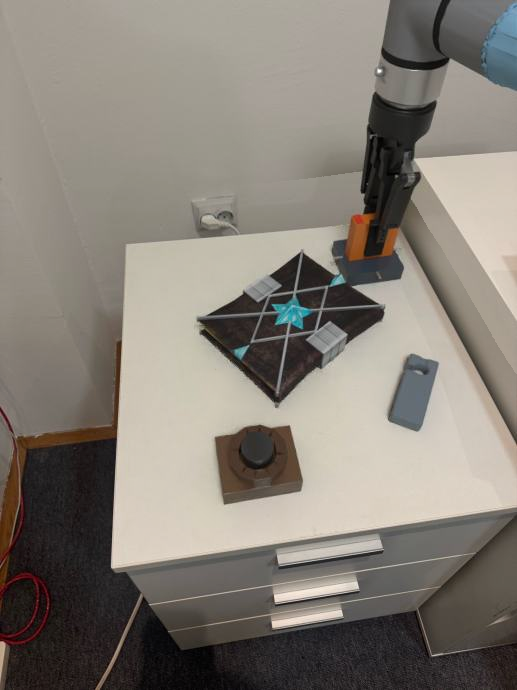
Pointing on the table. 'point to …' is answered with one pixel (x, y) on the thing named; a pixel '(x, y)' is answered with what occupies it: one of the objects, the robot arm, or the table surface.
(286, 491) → the block
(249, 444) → the release button
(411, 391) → the bracket
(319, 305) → the book
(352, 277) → the plate
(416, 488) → the table surface
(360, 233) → the orange handle lever
